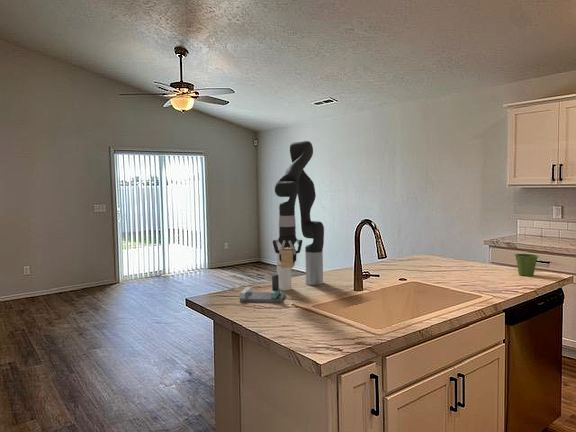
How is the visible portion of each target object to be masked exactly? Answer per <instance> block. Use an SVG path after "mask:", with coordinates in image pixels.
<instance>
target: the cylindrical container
mask: <svg viewBox="0 0 576 432" xmlns="http://www.w3.org/2000/svg"><path fill="white" fill-rule="evenodd" d="M277 246H278V250H279V251H280V248H281V246H282V245H281V244H280V242H279V241H278V244H277ZM286 248H288V247H286ZM276 274H277V275H278V276H279V287H280V291H291V289H292V268H281V261H280V260H279V254H278V253H276Z"/></svg>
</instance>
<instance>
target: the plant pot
mask: <svg viewBox="0 0 576 432" xmlns="http://www.w3.org/2000/svg"><path fill="white" fill-rule="evenodd" d="M514 256H515V261H516V266H517V272H518V275H519V276H522V277H523V276H524V277H533V276H534V274H535V269H536V265H537V261H538V257H539V256H540V255H537V254H532V253H515V254H514Z"/></svg>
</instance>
